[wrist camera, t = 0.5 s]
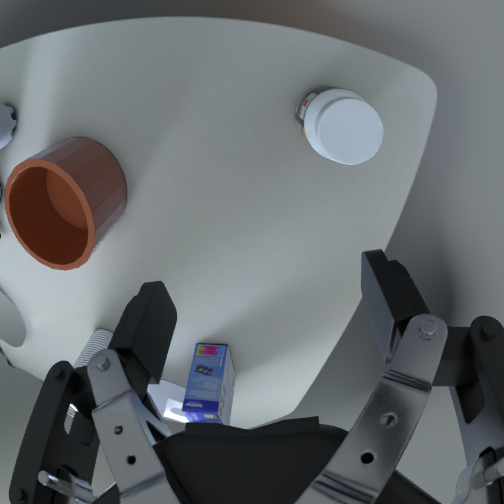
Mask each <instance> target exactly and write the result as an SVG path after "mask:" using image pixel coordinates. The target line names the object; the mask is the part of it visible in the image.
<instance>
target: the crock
mask: <svg viewBox="0 0 504 504" xmlns="http://www.w3.org/2000/svg"><path fill="white" fill-rule="evenodd" d="M126 200H127V188H126V182H125V178H124V174H123V172H122V169H121V167H120V165H119V163H118V162H117V160H116V159H115V157H114V156H113V155H112V153H111V152H110V151H109V150H108V149H107V148H105V147H104V146H103V145H102V144H100V143H98V142H97V141H94V140H92V139H89V138H85V137H73V138H69V139H66V140H64V141H61V142H59V143H57V144H55V145H53V146H51V147H49V148H47V149H45V150H43V151H41V152H39V153H38V154H36V155H34V156H32V157H30V158H28V159H27V160H25V161H23V162H22V163H20V164H19V165H17V166H16V167H15V168H14V170H13V171H12V173H11V174H10V176H9V178H8V180H7V184H6V189H5V210H6V214H7V217H8V221H9V224H10V226H11V228H12V230H13V232H14V234H15V236H16V238H17V239H18V241H19V242H20V244H21V245H22V246H23V248H24V249H25V250H26V251H27V252H28V253H29V254H30V255H31V256H32V257H34V258H35V259H36V260H37V261H39V262H40V263H42V264H44V265H46V266H48V267H50V268H52V269H57V270H63V271H68V270H72V269H77V268H79V267H80V266H82V265H83V264H84V263H85V262H87V261H88V260H89V258H90V257H91V256H92V254H93V253H94V252H95V250H96V249H97V248H98V246H99V245H100V244H101V243H102V241H103V240H104V239H105V238H106V236H107V235H108V234H109V233H110V231H111V230H112V229H113V228H114V226H115V225H116V224H117V222H118V221H119V219H120V218H121V216H122V214H123V212H124V209H125V206H126Z"/></svg>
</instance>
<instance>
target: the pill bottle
mask: <svg viewBox="0 0 504 504" xmlns="http://www.w3.org/2000/svg"><path fill="white" fill-rule="evenodd" d="M294 117H295V121H296V124H297V126H298V128H299V130H300V131H301V133H302V134H303V135H304V137H305V138H306V139H307V141H308V142H309V143H310V145H311V146H312V147H313V148H314V150H315V151H317V152H318V153H319V154H320V155H322V156H324V157H326V158H328V159H331V160H335V161H337V162H339V163H342V164H346V165H356V164H361V163H364V162H366V161H368V160H369V159H371V158H372V157H373V156H374V155H375V154H376V153H377V152H378V150H379V148H380V146H381V144H382V141H383V136H384V128H383V123H382V120H381V118H380V116H379V114H378V113H377V111H376V110H375V109H374V108H373V107H372V106H371V105H369V104H368V103H367V102H366V101H365V100H364V99H363V98H362V97H361V96H360V95H358V94H357V93H355V92H353V91H350V90H347V89H342V88H335V87H329V86H318V87H314V88H311V89H309V90H307V91H306V92H304V93H303V94H302V95H301V96H300V97H299V99H298V101H297V103H296V105H295V111H294Z"/></svg>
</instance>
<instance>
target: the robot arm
mask: <svg viewBox="0 0 504 504" xmlns="http://www.w3.org/2000/svg"><path fill="white" fill-rule="evenodd" d="M361 290H362V295H363V299H364V302H365V305H366V308H367V311H368V314H369V316H370V319H371V322H372V325H373V328H374V332H375V335H376V338H377V341H378V344H379V347H380V350H381V354H382V357H383V361H384V364H387V363H390V365H389V367H388V369H387V371H386V372H384V373H383V374H382V376H381V378H380V380H379V381H378V384H377V385H376V387H375V389H374V391H373V393H372V394H371V397H370V398H369V400H368V402H367V403H366V405H365V407H364V409H363V410H362V412H361V414H360V415H359V417H358V419H357V420H356V422H355V423H354V425H353V427H352V428H351V430H350V431H349V432H348V431H346V430H343V429H341V428H338V427H335V426H330V425H325V424H319V418H318V416H315V417H308V418H299V419H289V420H282V421H279V422H276V423H273V424H269V425H266V426H262V427H259V428H255V429H251V430H247V429H241V428H237V427H232V426H228V425H224V424H219V423H199V422H186V428H185V431H181V432H178V433H175V434H173V433H172V432H171V431H170V429H169V428H168V426H167V425H166V423H165V422H164V420H163V418H162V416H161V414H160V412H159V410H158V408H157V407H156V405H155V403H154V401H153V399H152V397H151V395H150V393H149V392H148V391H147V388H148V385H149V384H159V383H160V380H161V376H162V372H163V368H164V365H165V361H166V357H167V354H168V350H169V347H170V343H171V339H172V336H173V332H174V329H175V326H176V322H177V311H176V308H175V306H174V304H173V302H172V300H171V298H170V295H169V293H168V291H167V289H166V287H165V285H164V283H163V282H162V281H154V282H147V283H143V285H142V287H141V289H140V291H139V293H138V295H137V296H134V297H133V299H132V300H131V301H130V302H129V303H128V304H127V306H126V308H125V310H124V312H123V315H122V316H121V319H120V323H118V325H117V327H116V329H115V332H114V334H113V336H112V338H111V341H110V343H109V345H108V348H107V349H103V350H100V351H98V352H97V353H95V354H94V355H93V356H92V357H91V359H90V360H89V362H88V365H85V366H82V367H78V368H74V367H73V366H72V365H71V364H70V363H69V362H68V361H60V362H57V363H56V364H54V365H53V366H52V367H51V368H50V370H49V372H48V374H47V376H46V378H45V381H44V383H43V385H42V388H41V390H40V393H39V396H38V398H37V401H36V403H35V406H34V408H33V412H32V414H31V417H30V420H29V422H28V425H27V428H26V431H25V434H24V437H23V440H22V443H21V447H20V450H19V453H18V457H17V460H16V464H15V468H14V472H13V476H12V480H11V484H10V488H9V499H10V502H11V504H441V503H440V502H438V501H437V500H436V499H434V498H433V497H432V496H430V495H429V494H428V493H426V492H425V491H424V490H422V489H421V488H420V487H418V486H417V485H416V484H414V483H413V482H412V481H410V480H409V479H408V478H406V477H405V476H404V475H402V474H401V473H400V472H399V471H398V470H396V469H395V468H396V466H397V464H398V462H399V460H400V459H401V457H402V455H403V453H404V451H405V449H406V447H407V445H408V443H409V441H410V439H411V437H412V435H413V433H414V431H415V428H416V426H417V424H418V422H419V419H420V417H421V415H422V413H423V410H424V408H425V405H426V403H427V400H428V398H429V395H430V392H431V389H432V387H431V386H448V387H449V390H450V393H451V397H452V400H453V404H454V408H455V411H456V415H457V419H458V423H459V428H460V432H461V436H462V440H463V445H464V451H465V456H466V461H467V467H466V468H465V469H464V470H463V471H462V472H461V474H460V475H459V477H458V480H457V484H456V494H455V498H454V500H453V502H452V503H451V504H504V328H503V326H502V325H501V323H500V322H499V321H498V320H496V319H495V318H493V317H490V316H480V317H477V318H475V319H474V320H473V322H472V323H471V326H470V327H450V326H446V324H445V323H444V321H442V319H440V318H439V317H437V316H435V315H432V314H430V312H429V310H428V308H427V306H426V304H425V302H424V300H423V298H422V296H421V295H420V293H419V291H418V289H417V287H416V286H415V284H414V282H413V280H412V278H410V275H409V273H408V271H407V270H406V268H405V267H404V266H403V265H402V264H400V263H399V262H398V261H396V260H392V261H388V260H387V258H386V256H385V254H384V252H383V251H382V250H381V249H377V250H371V251H365V252H362V261H361ZM70 405H71V406H72V407H73V408H74V409H75V410H76V412H75V415H74V418H73V422H72V425H71V429H70V432H69V435H68V434H67V433H66V431H65V428H64V422H65V419H66V416H67V412H68V409H69V406H70ZM100 442H101V445H102V448H103V451H104V454H105V456H106V459H107V462H108V464H109V467H110V469H111V472H112V474H113V476H114V479H115V481H116V482H115V483H114V484H113V485H112V486H111V487H110V488H108V489H107V490H106V491H105V492H104V493H102V494H101V495H100V496H99V497H98V498H97V496H96V495H95V494H93V490H92V488H91V483H92V478H93V472H94V468H95V463H96V457H97V453H98V449H99V444H100Z"/></svg>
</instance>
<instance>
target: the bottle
mask: <svg viewBox="0 0 504 504" xmlns="http://www.w3.org/2000/svg"><path fill="white" fill-rule="evenodd" d="M12 114H13V109H12V108H11V107H8V106H6V105H5V104H4V103H0V149H1V148H3V147H4V146H5V145H6V144H8V143H9V142H10V141H11V140H12V138H13V136H14V132H13V131H12V130H13V128H14V127H15V126H16V120H13V119H12V118H11V115H12Z"/></svg>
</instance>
